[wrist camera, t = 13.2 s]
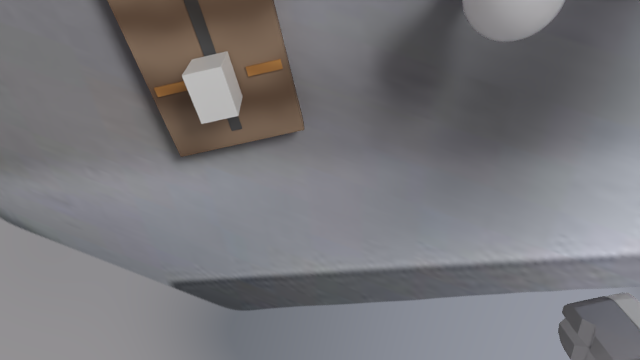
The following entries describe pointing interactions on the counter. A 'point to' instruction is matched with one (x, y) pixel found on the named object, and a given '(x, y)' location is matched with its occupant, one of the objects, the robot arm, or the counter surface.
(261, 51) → the fader board
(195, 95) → the fader tab
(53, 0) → the counter surface
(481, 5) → the lightbulb
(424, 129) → the counter surface
